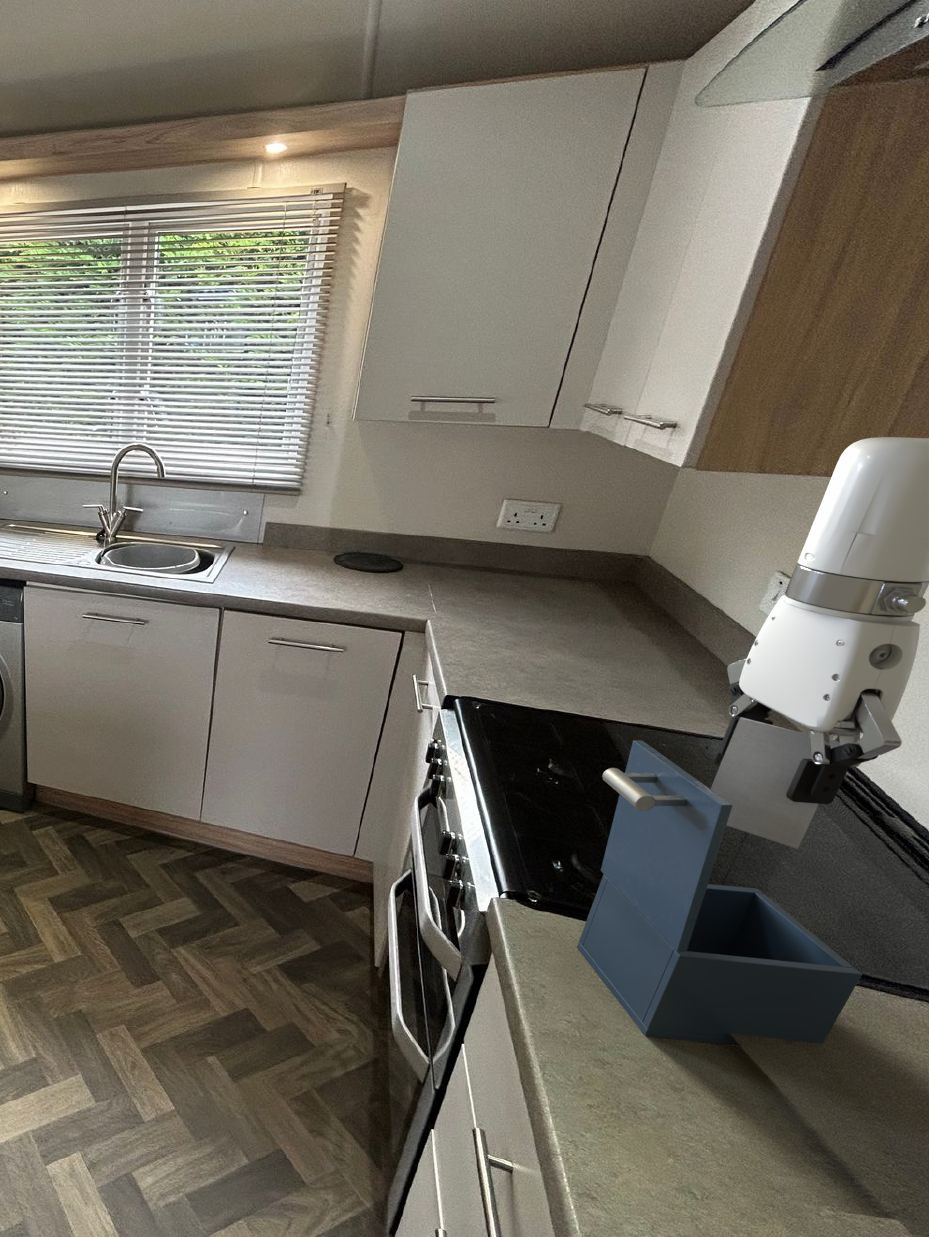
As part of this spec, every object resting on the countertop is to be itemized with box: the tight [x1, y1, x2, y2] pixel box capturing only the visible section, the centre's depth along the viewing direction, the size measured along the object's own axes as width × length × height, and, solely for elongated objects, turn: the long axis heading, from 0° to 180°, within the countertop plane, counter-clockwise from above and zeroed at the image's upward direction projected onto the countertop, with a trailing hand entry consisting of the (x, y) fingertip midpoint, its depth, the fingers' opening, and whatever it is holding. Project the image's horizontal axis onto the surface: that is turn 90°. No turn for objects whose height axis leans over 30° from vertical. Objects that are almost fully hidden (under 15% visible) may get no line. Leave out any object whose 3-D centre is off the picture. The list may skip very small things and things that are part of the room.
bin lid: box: [600, 739, 732, 952], centre depth 68 cm, size 15×12×5 cm
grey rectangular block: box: [710, 717, 840, 850], centre depth 66 cm, size 4×7×10 cm, turn 41°
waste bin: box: [576, 874, 862, 1048], centre depth 71 cm, size 15×12×10 cm
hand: (771, 776), depth 66 cm, fingers closed on grey rectangular block, 7 cm apart
